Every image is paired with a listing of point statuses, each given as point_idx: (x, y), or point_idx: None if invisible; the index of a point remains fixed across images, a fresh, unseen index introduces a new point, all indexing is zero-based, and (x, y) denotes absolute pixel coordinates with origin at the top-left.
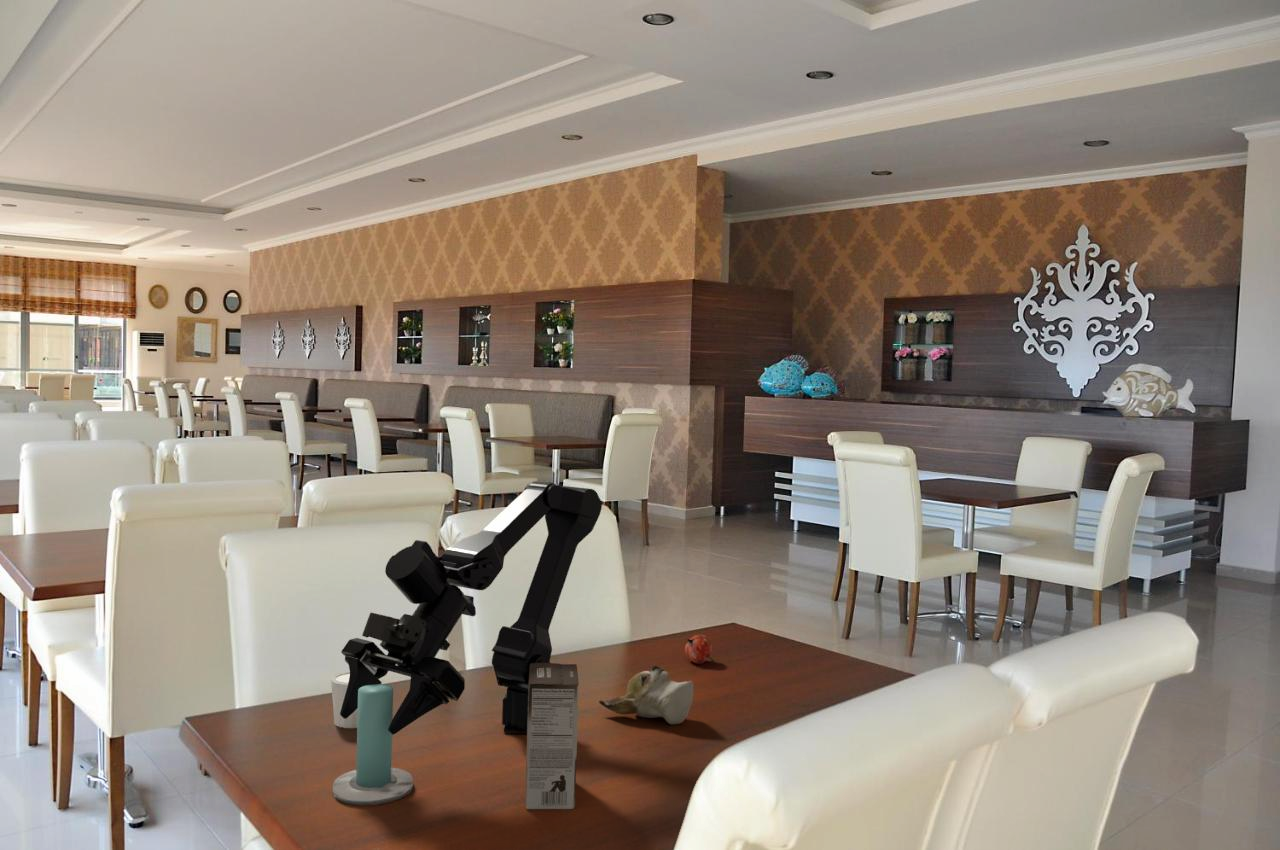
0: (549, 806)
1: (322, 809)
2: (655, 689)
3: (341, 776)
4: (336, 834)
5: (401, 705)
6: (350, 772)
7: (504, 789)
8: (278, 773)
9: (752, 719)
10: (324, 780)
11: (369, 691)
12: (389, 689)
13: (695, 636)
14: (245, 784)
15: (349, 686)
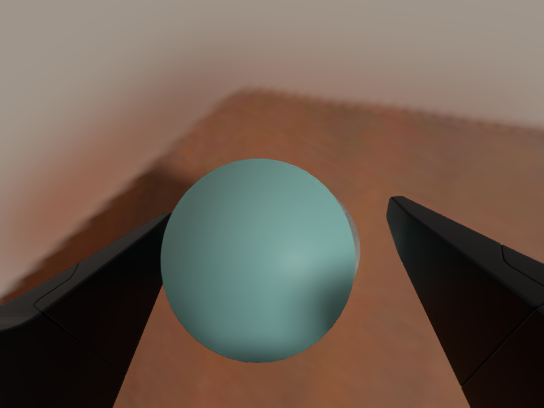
0: None
1: (286, 152)
2: None
3: (350, 222)
4: (210, 126)
5: (105, 261)
6: (354, 244)
7: (131, 390)
8: (473, 178)
9: None
10: (383, 214)
11: (246, 204)
12: (193, 305)
13: None
14: (462, 118)
15: (506, 256)
